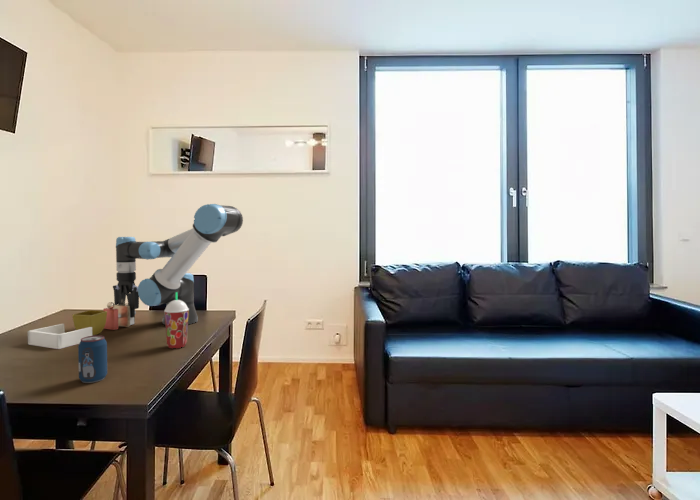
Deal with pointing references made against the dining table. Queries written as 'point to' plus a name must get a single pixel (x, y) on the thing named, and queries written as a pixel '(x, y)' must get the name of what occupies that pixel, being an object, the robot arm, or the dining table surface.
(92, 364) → the soda can
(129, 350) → the dining table surface
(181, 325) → the smoothie
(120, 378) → the dining table surface
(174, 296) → the robot arm
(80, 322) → the flower pot
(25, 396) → the dining table surface
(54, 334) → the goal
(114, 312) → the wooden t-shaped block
